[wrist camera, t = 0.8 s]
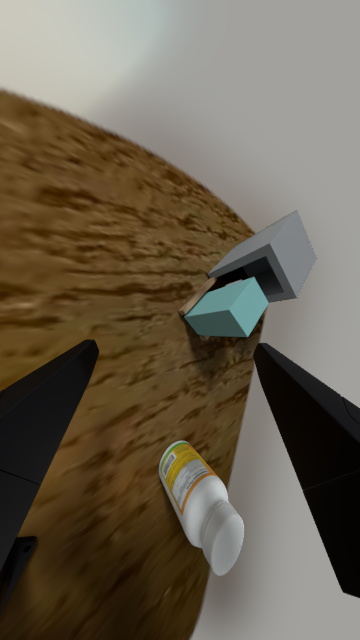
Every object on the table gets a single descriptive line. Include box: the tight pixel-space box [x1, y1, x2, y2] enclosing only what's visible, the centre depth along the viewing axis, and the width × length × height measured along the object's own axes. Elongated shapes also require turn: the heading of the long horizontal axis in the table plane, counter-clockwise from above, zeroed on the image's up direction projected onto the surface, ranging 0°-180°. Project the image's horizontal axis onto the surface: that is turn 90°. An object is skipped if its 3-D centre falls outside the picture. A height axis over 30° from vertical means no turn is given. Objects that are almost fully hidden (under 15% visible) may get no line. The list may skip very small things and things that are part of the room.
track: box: [178, 276, 217, 341], centre depth 25 cm, size 9×6×1 cm
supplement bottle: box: [159, 441, 244, 576], centre depth 17 cm, size 5×5×10 cm
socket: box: [208, 210, 317, 303], centre depth 25 cm, size 10×8×11 cm
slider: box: [184, 277, 269, 337], centre depth 22 cm, size 8×4×9 cm, turn 134°
